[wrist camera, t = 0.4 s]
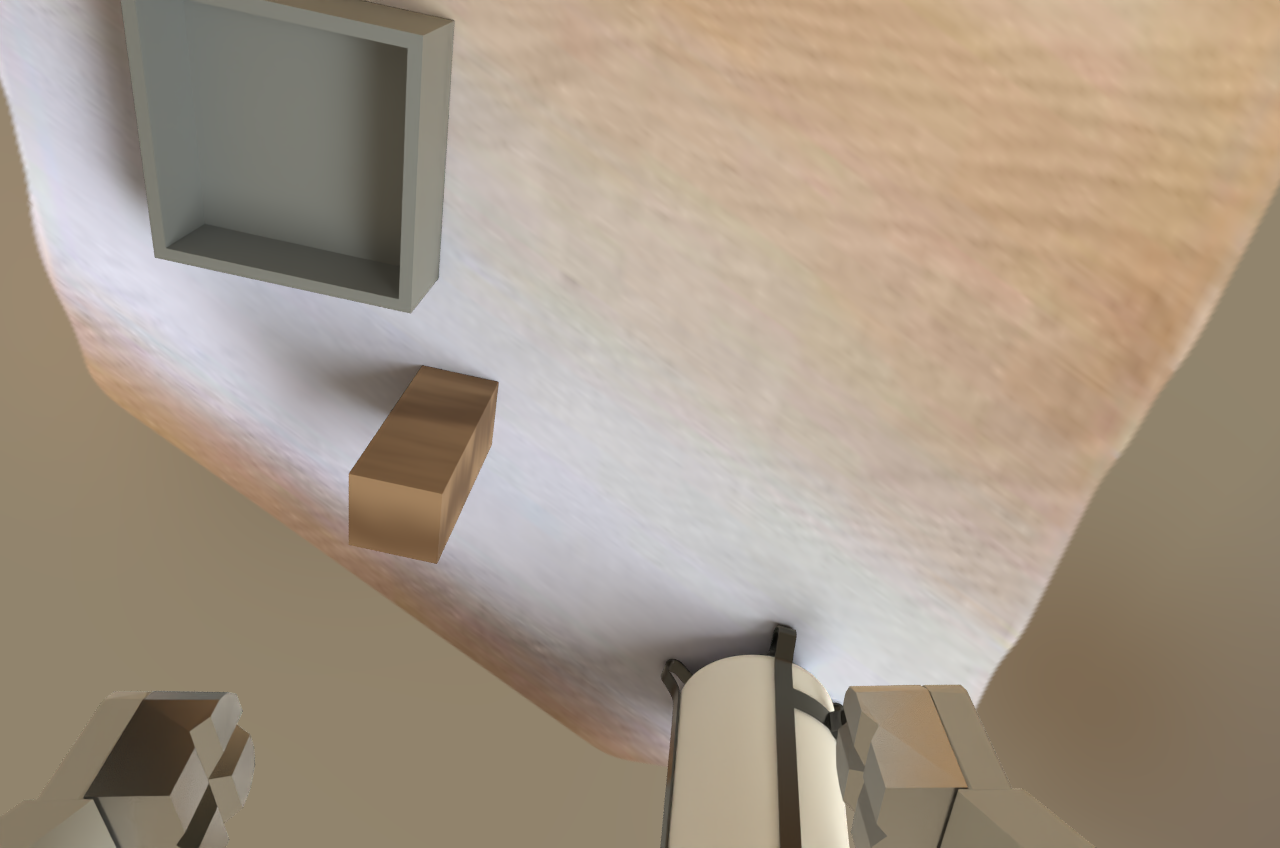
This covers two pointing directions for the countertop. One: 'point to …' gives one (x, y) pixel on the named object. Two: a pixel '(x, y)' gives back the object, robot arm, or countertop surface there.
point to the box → (295, 140)
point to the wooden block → (422, 465)
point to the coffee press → (753, 755)
